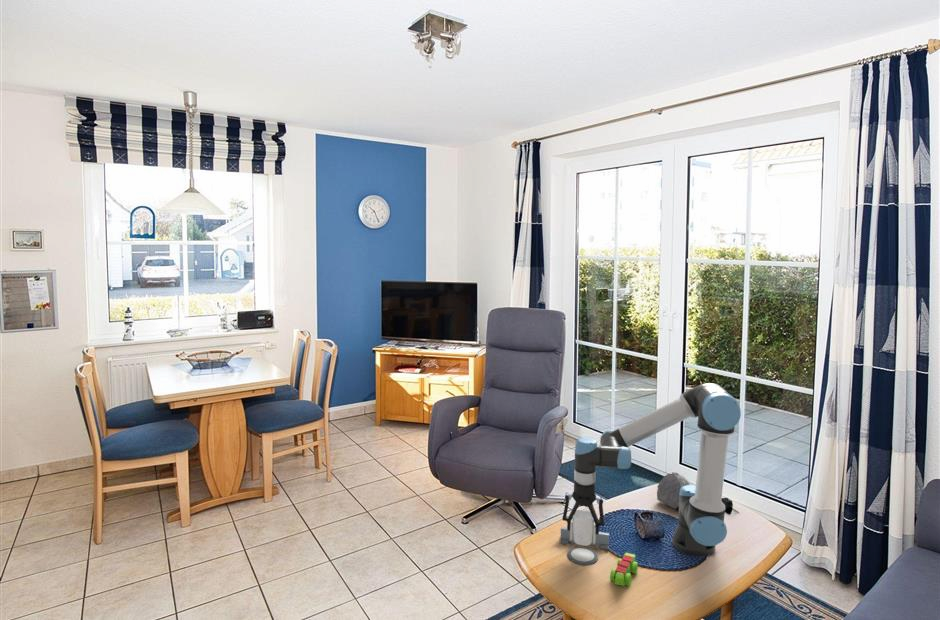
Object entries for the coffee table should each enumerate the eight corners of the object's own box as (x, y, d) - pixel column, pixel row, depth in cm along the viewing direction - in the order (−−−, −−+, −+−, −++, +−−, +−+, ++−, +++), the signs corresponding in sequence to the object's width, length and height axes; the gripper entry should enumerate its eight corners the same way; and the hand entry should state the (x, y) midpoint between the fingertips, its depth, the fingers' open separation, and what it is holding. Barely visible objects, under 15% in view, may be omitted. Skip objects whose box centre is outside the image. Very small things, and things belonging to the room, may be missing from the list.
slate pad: (598, 550, 210) (598, 548, 210) (597, 567, 200) (597, 565, 200) (568, 546, 213) (569, 544, 213) (565, 562, 203) (566, 560, 203)
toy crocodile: (622, 559, 205) (623, 543, 204) (641, 564, 201) (642, 548, 201) (606, 588, 188) (606, 571, 187) (625, 594, 185) (626, 577, 184)
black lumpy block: (743, 515, 237) (744, 505, 236) (728, 517, 235) (729, 507, 234) (723, 502, 249) (723, 492, 248) (709, 504, 247) (709, 494, 246)
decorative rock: (654, 501, 248) (656, 469, 246) (663, 497, 252) (665, 465, 250) (688, 516, 235) (690, 482, 233) (697, 511, 239) (699, 478, 237)
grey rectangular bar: (608, 543, 215) (609, 530, 214) (608, 550, 210) (608, 537, 210) (561, 536, 220) (561, 524, 219) (560, 543, 215) (560, 531, 214)
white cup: (593, 547, 201) (594, 521, 200) (571, 545, 203) (572, 519, 201) (593, 536, 209) (594, 510, 207) (572, 533, 210) (572, 508, 209)
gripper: (614, 479, 203) (611, 538, 207) (557, 473, 209) (555, 530, 212) (613, 489, 196) (611, 549, 199) (554, 481, 202) (553, 541, 205)
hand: (582, 540), depth 206 cm, fingers closed on white cup, 7 cm apart
